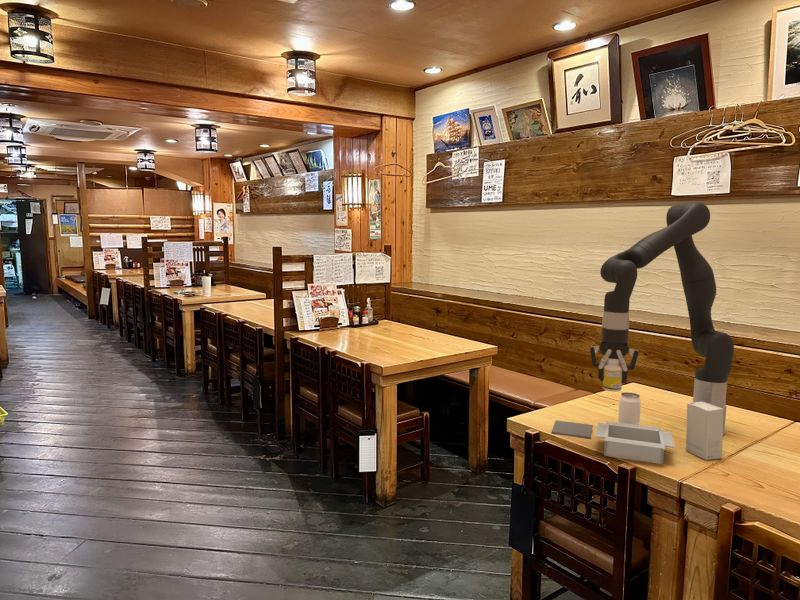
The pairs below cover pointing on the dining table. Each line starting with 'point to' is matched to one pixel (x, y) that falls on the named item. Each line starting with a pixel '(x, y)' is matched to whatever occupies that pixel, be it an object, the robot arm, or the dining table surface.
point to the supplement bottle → (612, 375)
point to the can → (629, 408)
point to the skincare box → (704, 430)
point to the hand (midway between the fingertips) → (612, 381)
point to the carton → (634, 441)
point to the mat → (572, 429)
